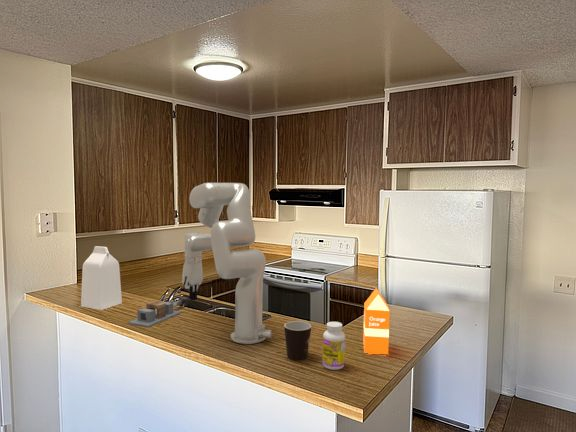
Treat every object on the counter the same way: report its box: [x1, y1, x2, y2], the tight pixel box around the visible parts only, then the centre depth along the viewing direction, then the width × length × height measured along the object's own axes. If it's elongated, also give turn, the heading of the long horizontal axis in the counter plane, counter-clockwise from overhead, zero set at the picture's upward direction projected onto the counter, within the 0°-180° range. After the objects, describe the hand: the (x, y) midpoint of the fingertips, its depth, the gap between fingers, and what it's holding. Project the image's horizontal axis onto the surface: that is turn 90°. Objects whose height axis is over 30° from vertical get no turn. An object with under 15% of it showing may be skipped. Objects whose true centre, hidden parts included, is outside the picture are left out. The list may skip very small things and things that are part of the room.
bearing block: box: [127, 301, 183, 328], centre depth 165 cm, size 10×20×5 cm, turn 157°
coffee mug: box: [283, 320, 312, 362], centre depth 130 cm, size 12×9×10 cm
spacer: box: [145, 300, 166, 319], centre depth 165 cm, size 6×4×5 cm, turn 67°
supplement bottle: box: [321, 321, 346, 371], centre depth 123 cm, size 7×7×13 cm
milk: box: [80, 245, 123, 311], centre depth 181 cm, size 12×12×26 cm
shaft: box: [172, 296, 190, 309], centre depth 175 cm, size 4×15×3 cm, turn 157°
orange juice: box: [362, 287, 390, 355], centre depth 136 cm, size 8×9×20 cm
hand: (193, 299), depth 187 cm, fingers closed
